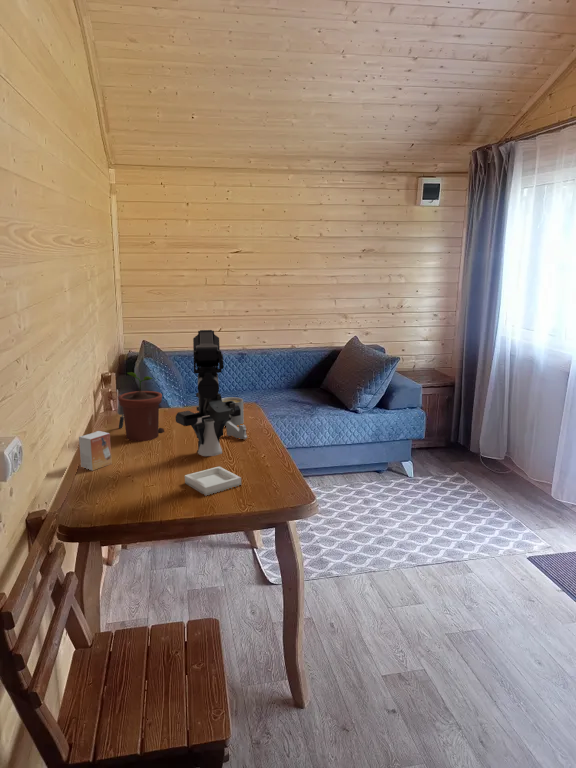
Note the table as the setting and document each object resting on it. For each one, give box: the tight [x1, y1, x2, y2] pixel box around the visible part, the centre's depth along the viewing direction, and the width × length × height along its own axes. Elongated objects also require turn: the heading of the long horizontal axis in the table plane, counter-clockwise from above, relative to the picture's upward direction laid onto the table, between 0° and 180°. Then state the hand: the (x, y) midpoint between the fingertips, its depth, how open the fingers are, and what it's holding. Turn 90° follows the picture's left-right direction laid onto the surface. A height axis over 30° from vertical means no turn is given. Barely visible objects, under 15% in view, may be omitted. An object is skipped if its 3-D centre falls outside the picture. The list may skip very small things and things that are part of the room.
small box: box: [78, 430, 113, 471], centre depth 180 cm, size 8×6×10 cm
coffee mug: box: [221, 396, 245, 426], centre depth 227 cm, size 13×10×10 cm
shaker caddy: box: [184, 465, 242, 497], centre depth 165 cm, size 12×12×2 cm
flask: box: [197, 419, 223, 457], centre depth 162 cm, size 7×7×10 cm
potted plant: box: [117, 371, 166, 442], centre depth 211 cm, size 18×22×25 cm
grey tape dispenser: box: [225, 421, 249, 440], centre depth 209 cm, size 6×1×10 cm
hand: (209, 442), depth 163 cm, fingers closed on flask, 5 cm apart
